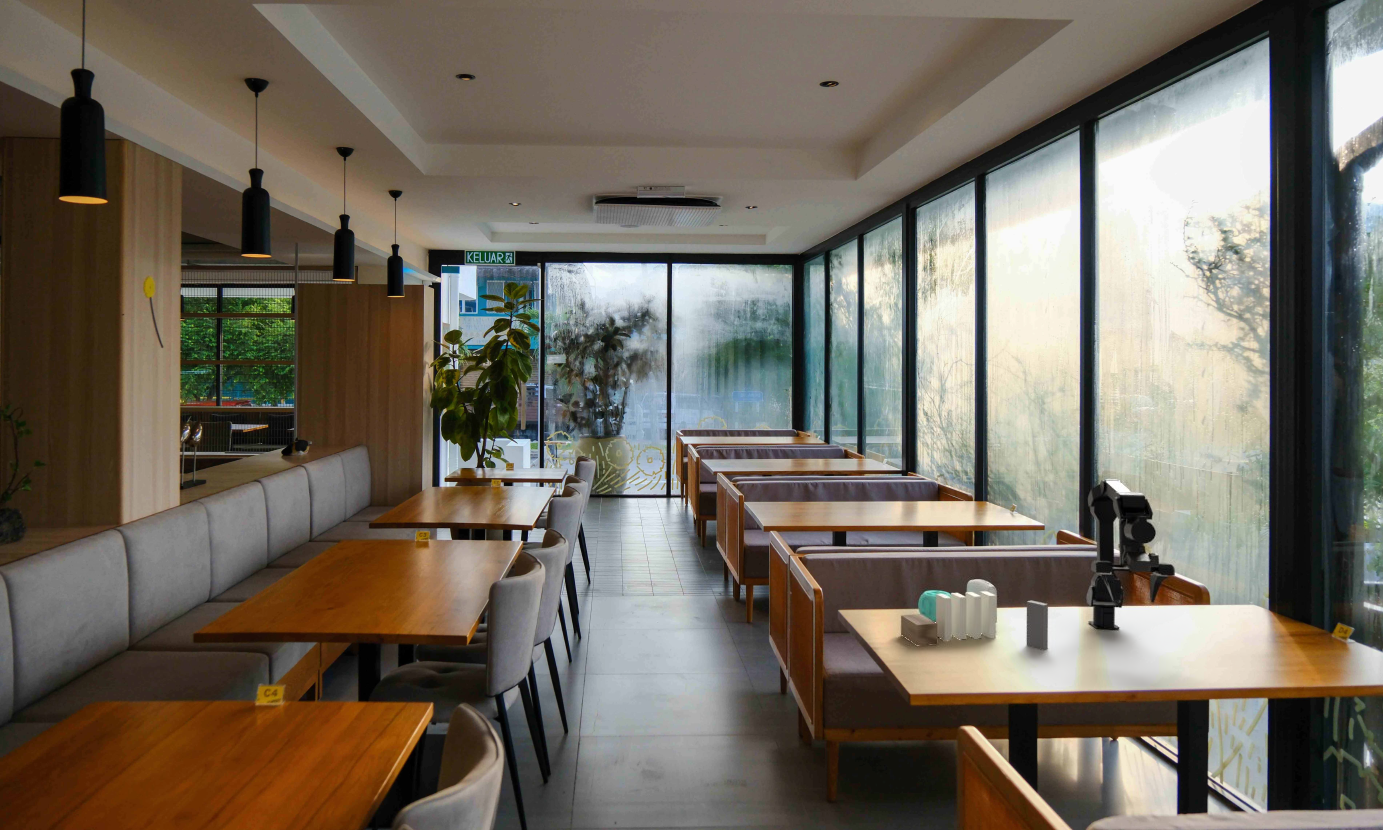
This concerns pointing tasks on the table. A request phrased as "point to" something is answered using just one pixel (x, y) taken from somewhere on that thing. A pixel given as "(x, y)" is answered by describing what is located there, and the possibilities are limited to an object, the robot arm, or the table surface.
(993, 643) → the table surface
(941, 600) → the ivory domino
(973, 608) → the ivory domino
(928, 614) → the decorative dice
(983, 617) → the ivory domino
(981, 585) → the white rounded block
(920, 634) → the walnut end block
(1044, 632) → the charcoal domino
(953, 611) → the ivory domino
